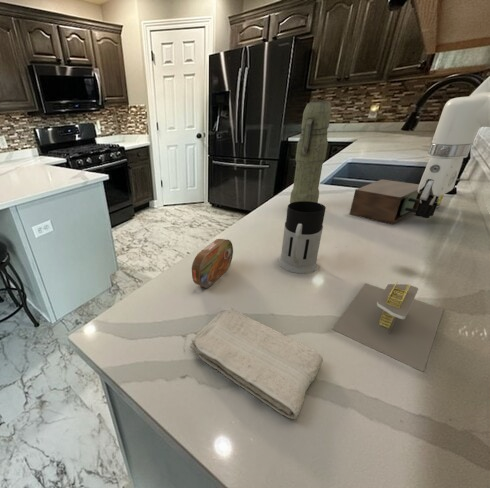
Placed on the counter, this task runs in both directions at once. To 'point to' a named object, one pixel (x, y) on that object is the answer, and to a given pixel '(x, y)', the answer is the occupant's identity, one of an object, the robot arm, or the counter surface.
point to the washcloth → (259, 360)
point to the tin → (212, 262)
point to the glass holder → (302, 236)
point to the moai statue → (311, 151)
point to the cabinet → (383, 200)
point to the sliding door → (409, 204)
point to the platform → (392, 322)
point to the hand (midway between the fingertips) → (423, 215)
